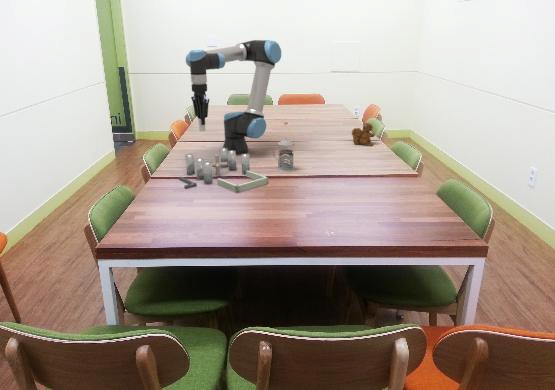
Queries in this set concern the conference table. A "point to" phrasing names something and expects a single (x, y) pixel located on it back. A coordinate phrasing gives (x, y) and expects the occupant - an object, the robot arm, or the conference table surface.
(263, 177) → the corral
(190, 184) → the hook bar
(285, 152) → the french press
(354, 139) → the stuffed squirrel
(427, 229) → the conference table surface
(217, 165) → the beige rod cross
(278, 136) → the conference table surface
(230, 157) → the set of silver pegs
